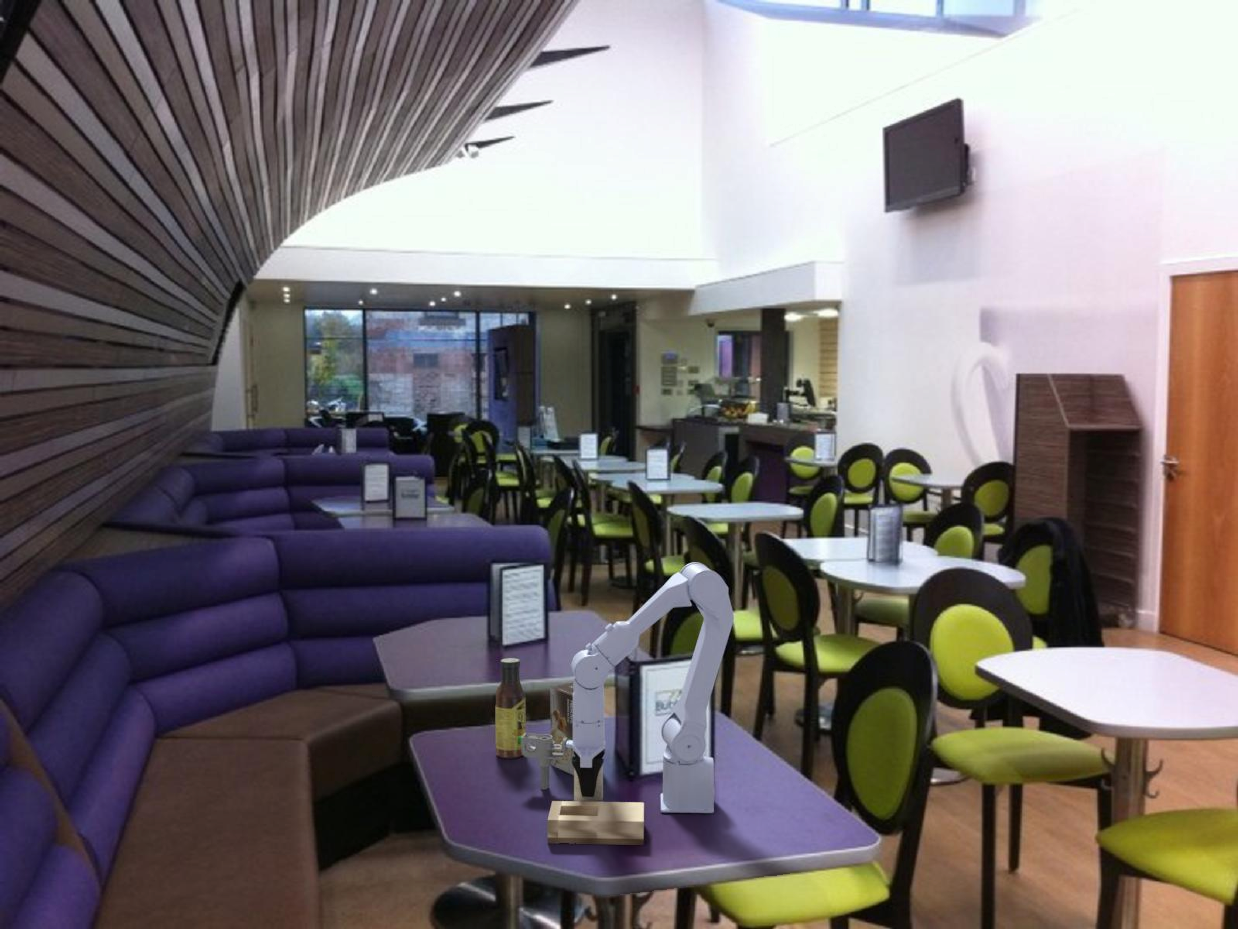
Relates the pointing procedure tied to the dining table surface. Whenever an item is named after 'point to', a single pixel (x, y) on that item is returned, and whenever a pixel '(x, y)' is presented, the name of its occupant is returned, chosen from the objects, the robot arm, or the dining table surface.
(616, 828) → the slotted wooden block
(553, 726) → the coffee box
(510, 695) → the sauce bottle
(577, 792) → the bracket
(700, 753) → the robot arm
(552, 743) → the mechanical component
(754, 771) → the dining table surface
